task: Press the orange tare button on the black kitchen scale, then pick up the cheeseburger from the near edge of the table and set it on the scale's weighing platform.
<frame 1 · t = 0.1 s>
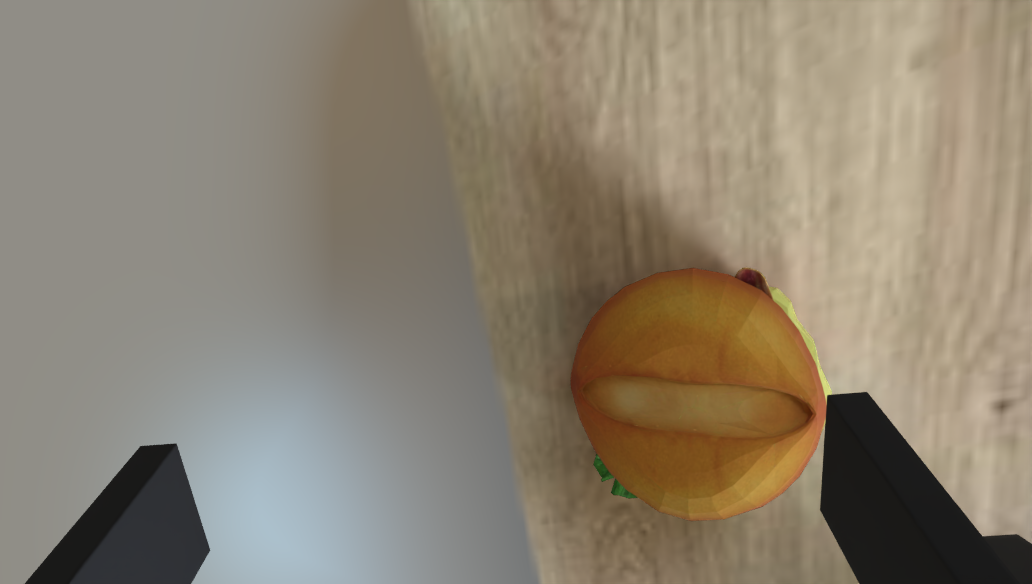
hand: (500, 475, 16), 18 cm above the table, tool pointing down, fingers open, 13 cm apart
cheeseburger: (680, 352, 34), on the table
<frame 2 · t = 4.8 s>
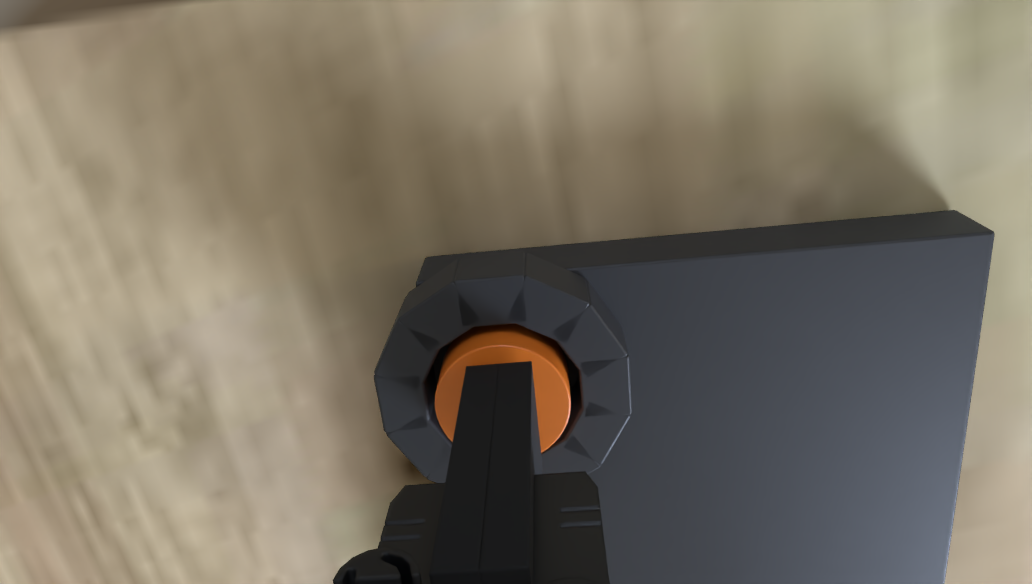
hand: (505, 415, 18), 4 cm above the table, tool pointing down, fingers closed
scale: (690, 508, 24), on the table
tare button: (503, 389, 19), point 3 cm above the table, slide at -0.6 cm, touching gripper
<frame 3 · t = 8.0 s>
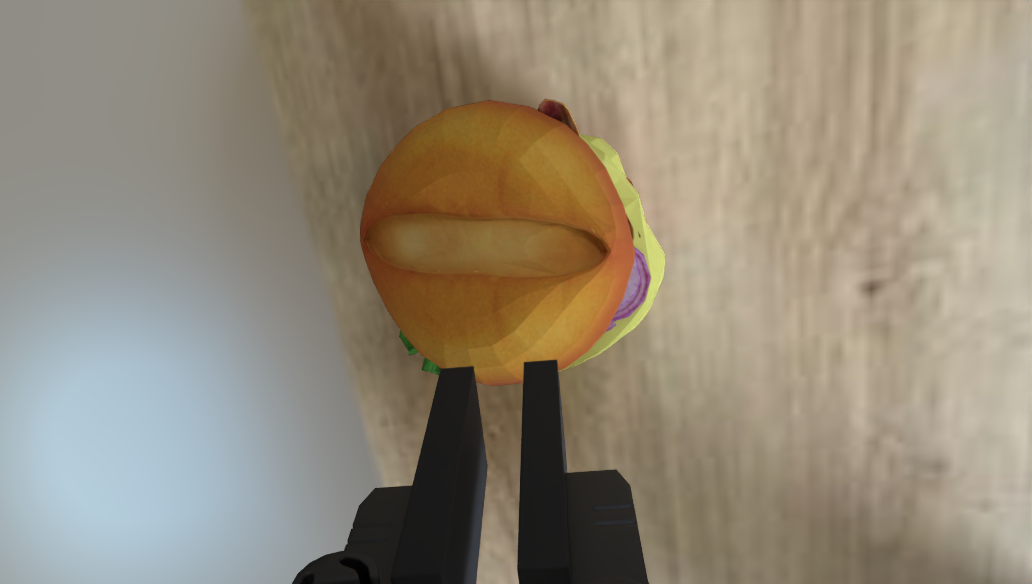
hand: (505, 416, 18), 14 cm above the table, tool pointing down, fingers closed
cheeseburger: (515, 226, 31), on the table
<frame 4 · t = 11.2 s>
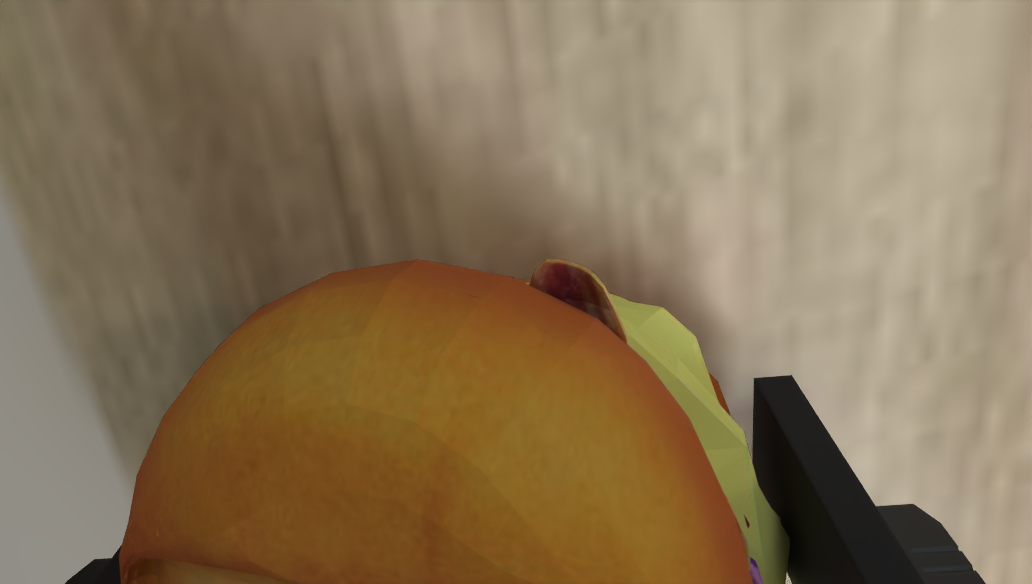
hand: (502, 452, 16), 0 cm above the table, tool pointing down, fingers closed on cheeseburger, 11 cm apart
cheeseburger: (491, 433, 17), on the table, touching gripper
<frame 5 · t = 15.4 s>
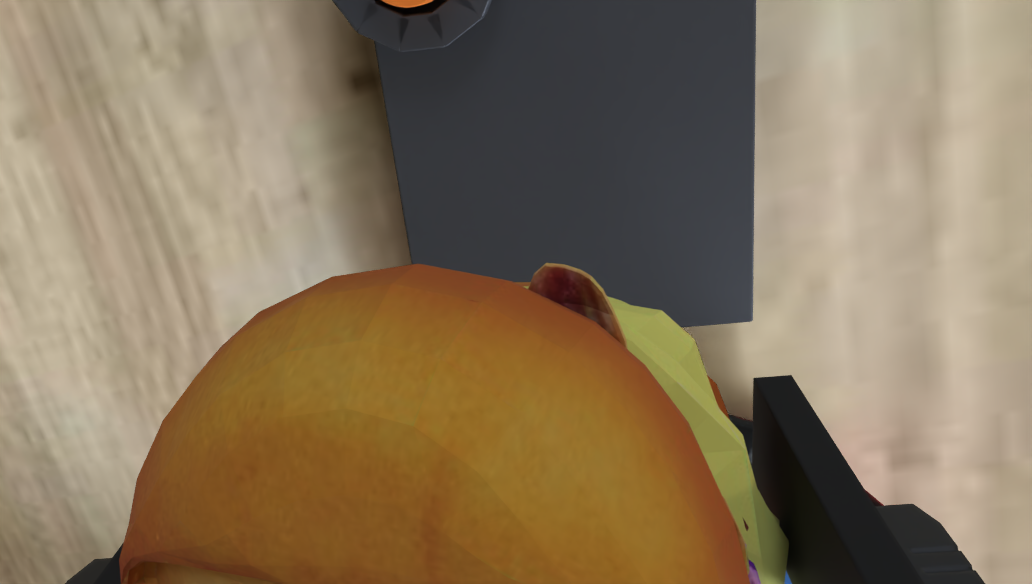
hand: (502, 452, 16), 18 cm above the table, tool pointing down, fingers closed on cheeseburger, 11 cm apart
scale: (568, 117, 31), on the table
cheeseburger: (490, 436, 17), point 17 cm above the table, touching gripper
handheld console: (720, 520, 39), on the table
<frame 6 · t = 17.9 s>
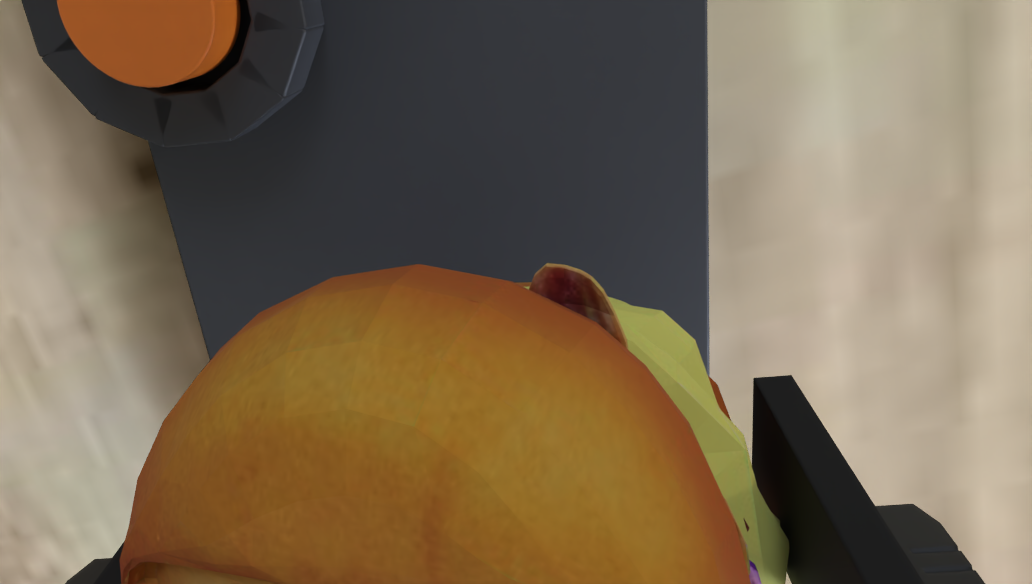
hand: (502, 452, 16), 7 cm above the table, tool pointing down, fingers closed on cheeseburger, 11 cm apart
scale: (447, 223, 22), on the table
cheeseburger: (491, 436, 17), point 6 cm above the table, touching gripper
tare button: (152, 5, 16), point 4 cm above the table, slide at 0.1 cm
when the fingers open (2 cm above the table, at t = 19.9 s): cheeseburger stays where it is, resting on scale.
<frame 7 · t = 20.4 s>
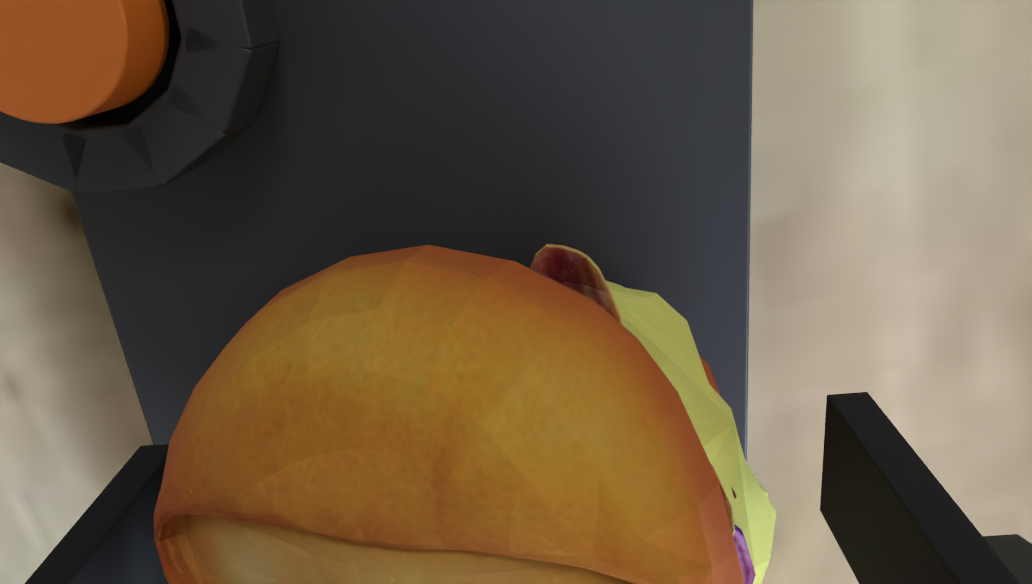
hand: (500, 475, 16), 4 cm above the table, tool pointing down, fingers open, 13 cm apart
scale: (435, 274, 18), on the table
cheeseburger: (495, 416, 18), point 2 cm above the table, touching scale
tare button: (53, 19, 13), point 4 cm above the table, slide at 0.1 cm
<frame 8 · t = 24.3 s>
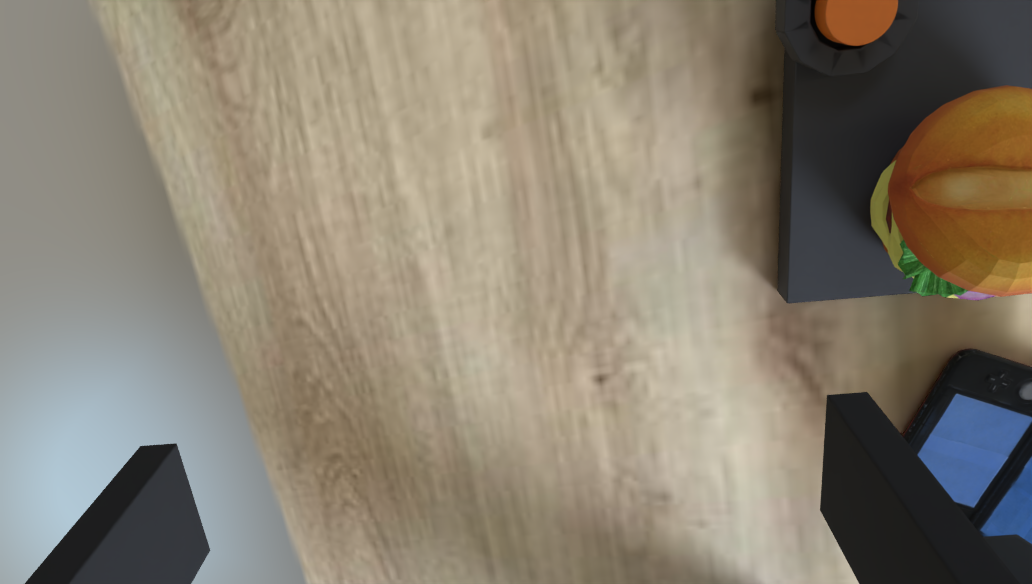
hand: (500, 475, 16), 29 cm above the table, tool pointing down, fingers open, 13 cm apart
scale: (914, 124, 41), on the table
cheeseburger: (947, 185, 40), point 2 cm above the table, touching scale
handheld console: (979, 447, 49), on the table
tare button: (855, 8, 35), point 4 cm above the table, slide at 0.1 cm
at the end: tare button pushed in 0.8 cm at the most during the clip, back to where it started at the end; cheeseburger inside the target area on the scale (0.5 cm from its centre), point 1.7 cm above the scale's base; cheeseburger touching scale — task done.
